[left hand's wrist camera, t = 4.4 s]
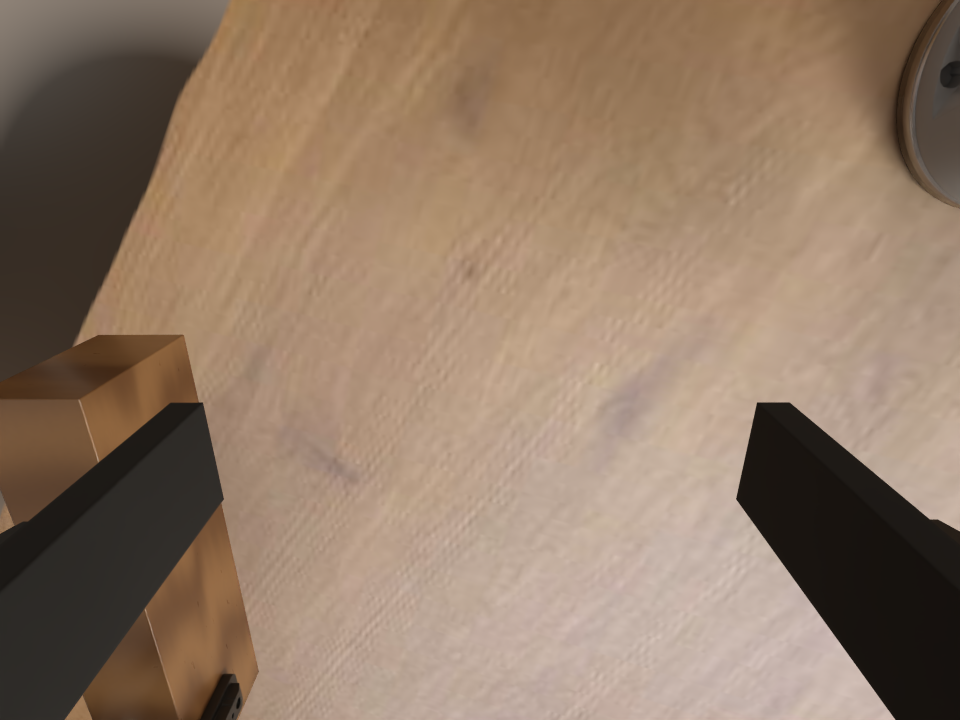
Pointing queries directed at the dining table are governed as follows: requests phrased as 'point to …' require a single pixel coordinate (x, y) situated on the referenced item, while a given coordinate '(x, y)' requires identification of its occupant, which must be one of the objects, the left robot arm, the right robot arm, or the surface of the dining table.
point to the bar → (73, 452)
